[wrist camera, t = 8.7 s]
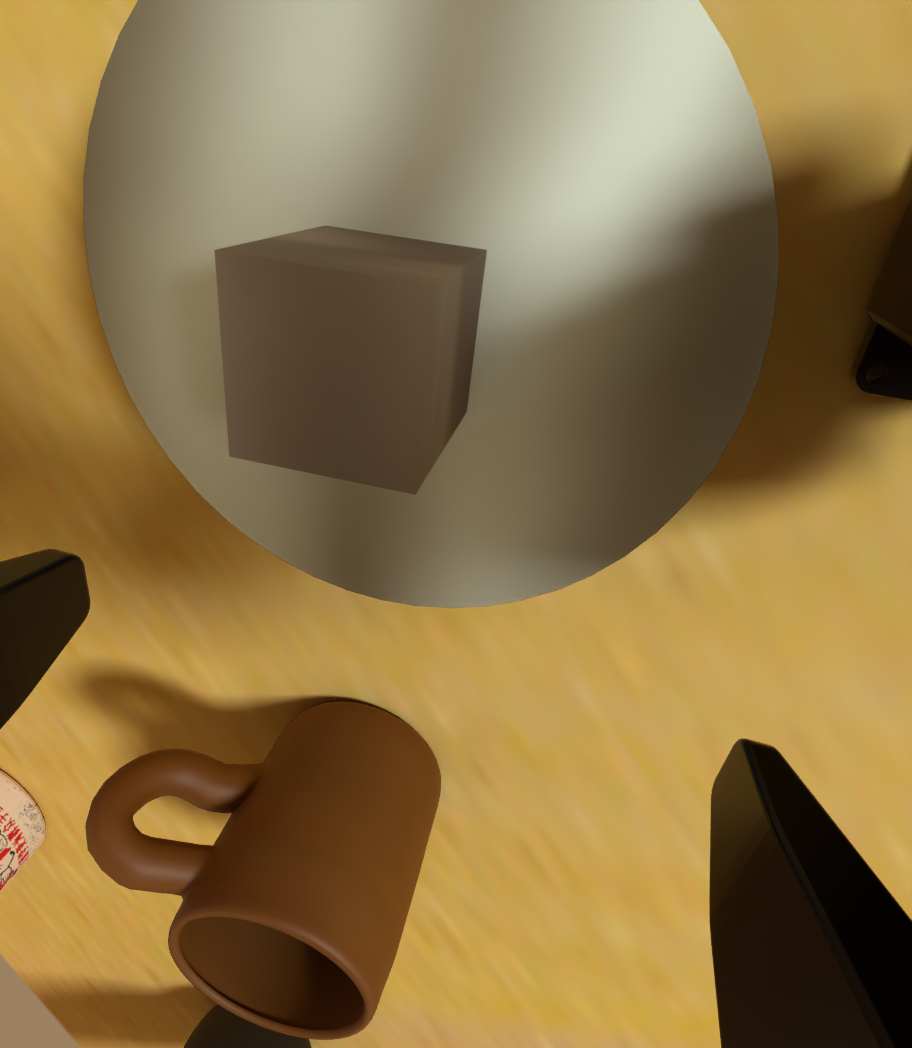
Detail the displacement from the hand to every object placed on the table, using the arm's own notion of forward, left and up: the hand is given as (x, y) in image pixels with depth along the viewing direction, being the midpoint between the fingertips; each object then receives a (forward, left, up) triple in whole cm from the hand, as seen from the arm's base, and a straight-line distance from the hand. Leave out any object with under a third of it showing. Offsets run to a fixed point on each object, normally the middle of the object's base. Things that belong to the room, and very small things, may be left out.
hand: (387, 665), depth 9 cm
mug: (+6, +17, -13) cm, 23 cm away
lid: (+2, -3, -7) cm, 8 cm away
